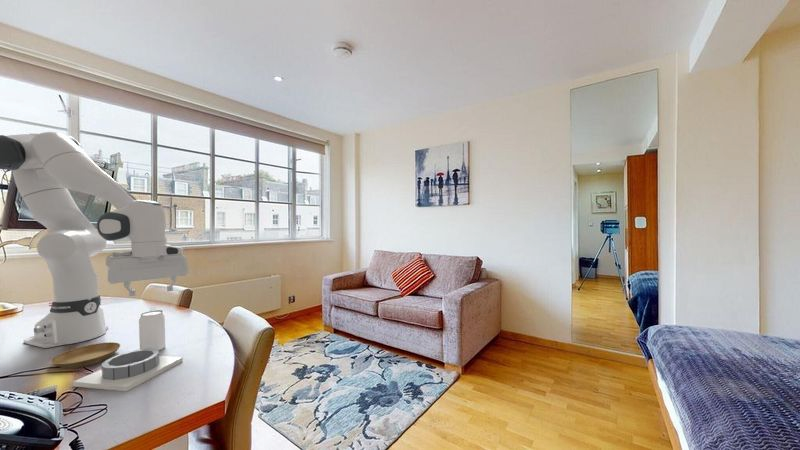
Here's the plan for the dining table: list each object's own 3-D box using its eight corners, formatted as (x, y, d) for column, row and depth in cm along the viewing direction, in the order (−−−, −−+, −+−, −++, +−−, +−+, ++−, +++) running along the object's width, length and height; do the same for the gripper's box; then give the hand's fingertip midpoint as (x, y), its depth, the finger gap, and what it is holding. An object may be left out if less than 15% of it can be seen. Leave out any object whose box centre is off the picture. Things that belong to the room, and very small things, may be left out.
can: (151, 354, 96) (150, 316, 96) (134, 353, 97) (133, 315, 97) (170, 346, 102) (169, 310, 102) (154, 344, 104) (153, 309, 103)
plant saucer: (63, 377, 83) (63, 367, 83) (41, 366, 90) (41, 357, 89) (130, 355, 97) (130, 346, 97) (107, 347, 103) (106, 339, 103)
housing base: (73, 386, 78) (72, 369, 78) (136, 358, 94) (136, 344, 94) (126, 391, 75) (125, 374, 75) (182, 361, 91) (182, 347, 91)
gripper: (103, 254, 90) (105, 300, 91) (187, 248, 102) (189, 289, 103) (107, 252, 96) (109, 296, 96) (187, 247, 107) (189, 286, 108)
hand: (151, 293), depth 99 cm, fingers open, 8 cm apart
